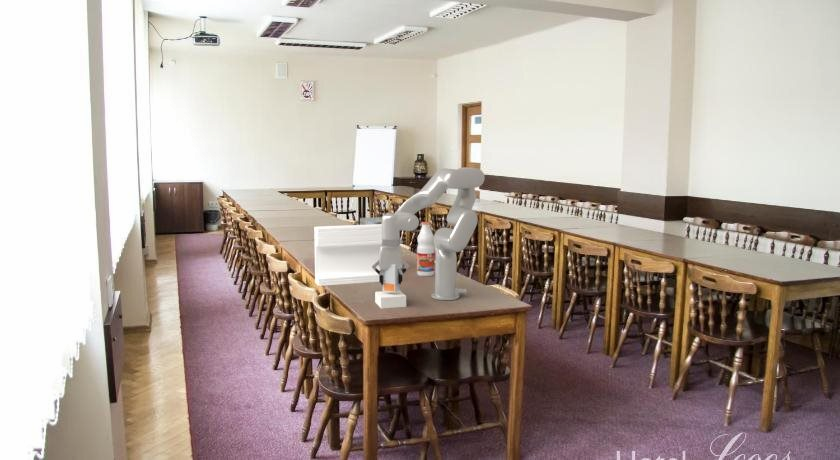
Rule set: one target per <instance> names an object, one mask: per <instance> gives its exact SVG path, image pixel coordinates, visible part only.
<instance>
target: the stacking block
mask: <svg viewBox="0 0 840 460" xmlns="http://www.w3.org/2000/svg"><path fill="white" fill-rule="evenodd" d="M374 292H375V293H374V303H375V304H376V305H377V306H378V307H379V308H380V309H394V308H406V307H407V295H405V294H404V292H402V290H400V289H399V291H397V292H396V293H394V292H385V291H383V290H382V291H374Z"/></svg>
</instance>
